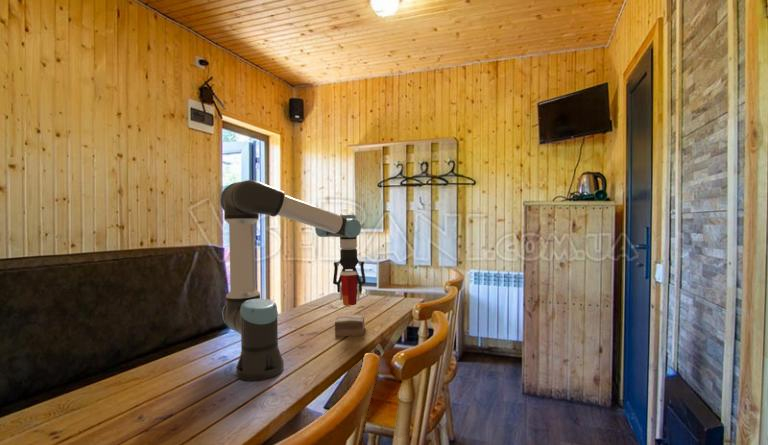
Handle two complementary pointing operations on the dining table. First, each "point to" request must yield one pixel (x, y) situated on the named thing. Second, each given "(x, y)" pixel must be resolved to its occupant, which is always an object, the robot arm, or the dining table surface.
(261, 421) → the dining table surface
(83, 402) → the dining table surface
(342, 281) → the coffee cup
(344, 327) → the riser
